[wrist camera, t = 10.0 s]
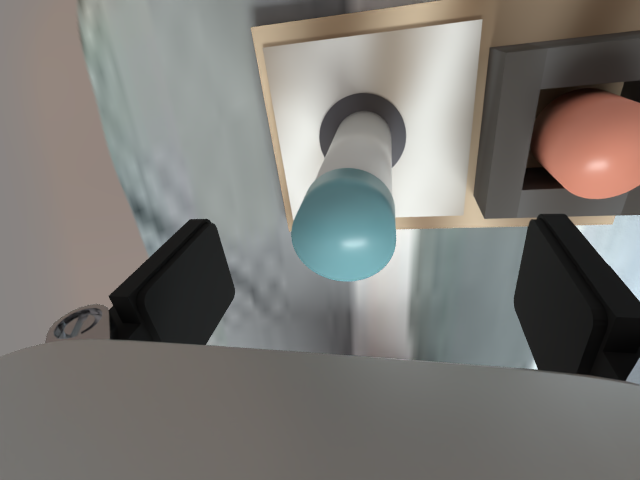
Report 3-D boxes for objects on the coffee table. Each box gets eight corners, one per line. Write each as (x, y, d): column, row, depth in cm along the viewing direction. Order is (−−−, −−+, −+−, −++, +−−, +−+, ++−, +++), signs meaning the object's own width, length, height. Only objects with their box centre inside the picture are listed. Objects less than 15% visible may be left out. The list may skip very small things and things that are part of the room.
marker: (392, 106, 20) (395, 189, 10) (393, 165, 21) (396, 281, 12) (331, 111, 20) (283, 194, 11) (336, 169, 22) (299, 281, 13)
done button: (635, 83, 16) (688, 98, 13) (608, 167, 18) (650, 197, 15) (537, 92, 17) (568, 108, 14) (523, 172, 19) (547, 200, 16)
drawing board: (685, -35, 16) (764, -48, 13) (604, 216, 22) (642, 252, 19) (256, 26, 20) (229, 29, 16) (292, 224, 26) (278, 255, 23)
